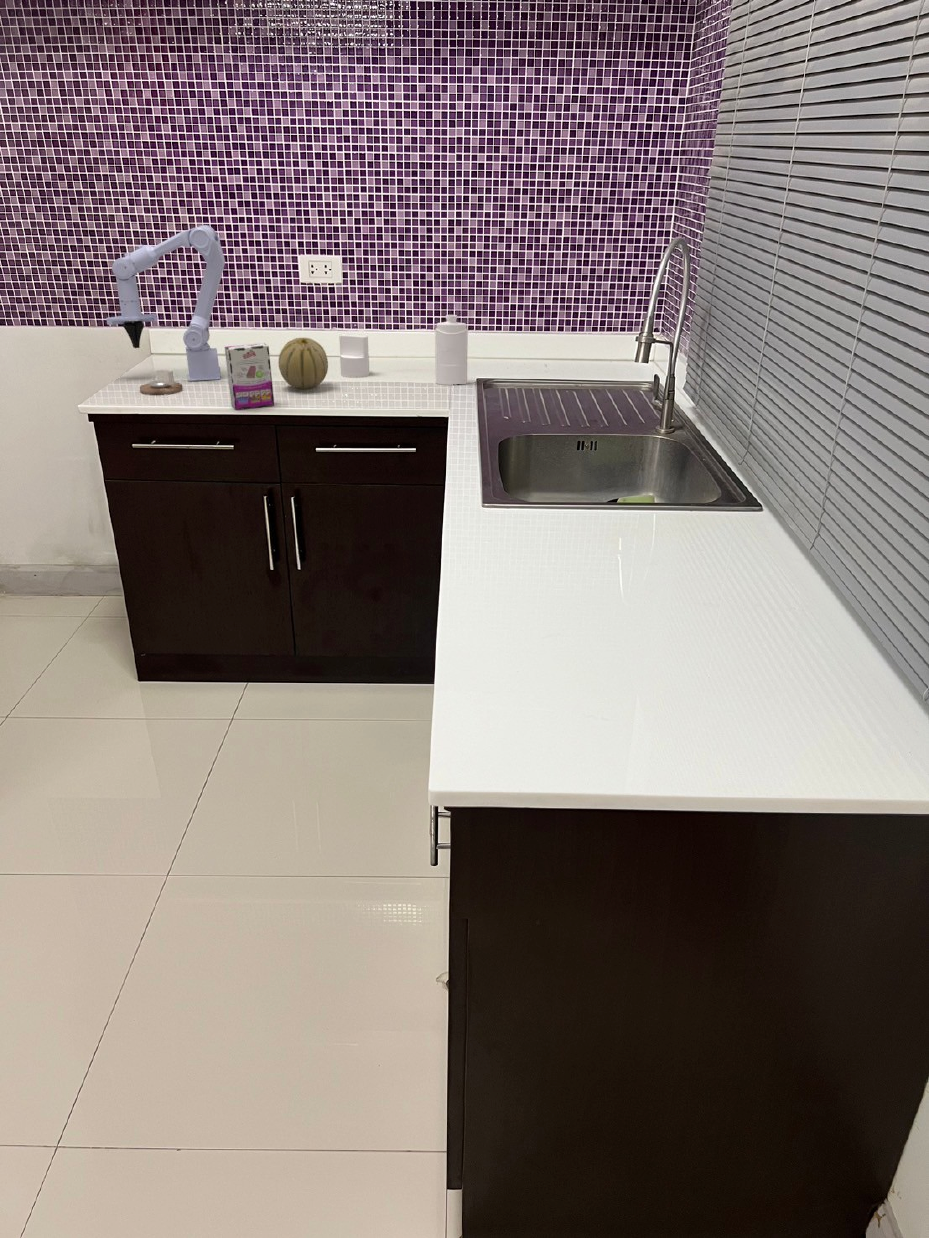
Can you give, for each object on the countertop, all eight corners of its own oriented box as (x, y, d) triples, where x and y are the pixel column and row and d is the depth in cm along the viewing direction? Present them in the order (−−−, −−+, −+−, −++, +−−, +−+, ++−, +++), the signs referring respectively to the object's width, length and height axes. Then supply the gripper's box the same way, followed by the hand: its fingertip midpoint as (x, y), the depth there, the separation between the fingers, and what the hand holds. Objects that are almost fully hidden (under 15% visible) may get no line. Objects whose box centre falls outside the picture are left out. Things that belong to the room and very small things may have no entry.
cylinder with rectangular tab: (335, 376, 292) (333, 337, 287) (349, 370, 300) (347, 332, 294) (361, 378, 289) (359, 339, 284) (374, 373, 297) (373, 334, 291)
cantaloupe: (310, 380, 286) (307, 330, 280) (339, 388, 277) (337, 336, 270) (270, 388, 277) (265, 336, 270) (299, 396, 268) (295, 343, 261)
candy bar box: (269, 402, 262) (264, 342, 254) (274, 406, 258) (269, 345, 250) (230, 406, 257) (223, 345, 250) (235, 410, 253) (228, 348, 246)
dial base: (182, 384, 280) (181, 380, 279) (183, 393, 270) (182, 389, 269) (140, 387, 277) (139, 382, 276) (140, 396, 267) (139, 391, 266)
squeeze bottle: (466, 385, 282) (467, 382, 286) (467, 317, 273) (468, 314, 277) (435, 385, 282) (436, 381, 287) (434, 316, 273) (435, 314, 278)
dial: (145, 386, 272) (143, 370, 270) (161, 382, 276) (159, 367, 274) (164, 389, 268) (162, 373, 266) (180, 385, 273) (178, 370, 271)
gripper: (108, 304, 270) (115, 352, 276) (157, 300, 277) (164, 347, 284) (101, 301, 275) (109, 348, 281) (150, 297, 283) (156, 343, 289)
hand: (136, 347), depth 283 cm, fingers closed
